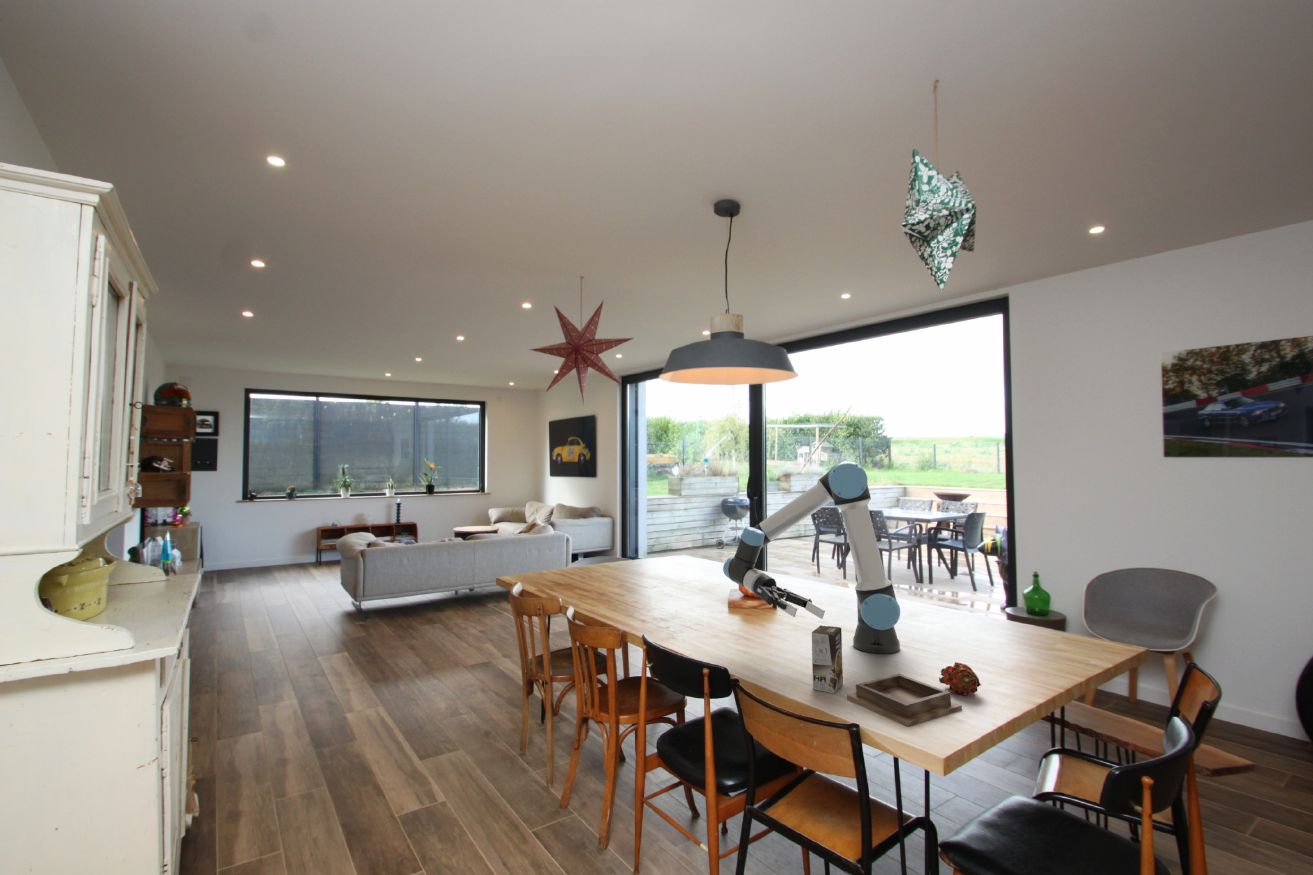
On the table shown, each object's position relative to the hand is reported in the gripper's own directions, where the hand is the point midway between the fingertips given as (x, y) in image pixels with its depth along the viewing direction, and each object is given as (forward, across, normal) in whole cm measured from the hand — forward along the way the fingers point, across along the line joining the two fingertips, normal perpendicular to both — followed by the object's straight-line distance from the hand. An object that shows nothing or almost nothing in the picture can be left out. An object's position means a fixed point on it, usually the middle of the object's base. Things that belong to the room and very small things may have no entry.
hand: (809, 613), depth 183 cm
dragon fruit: (+37, -23, -4) cm, 44 cm away
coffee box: (+14, 0, -16) cm, 21 cm away
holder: (+33, -4, -9) cm, 34 cm away
